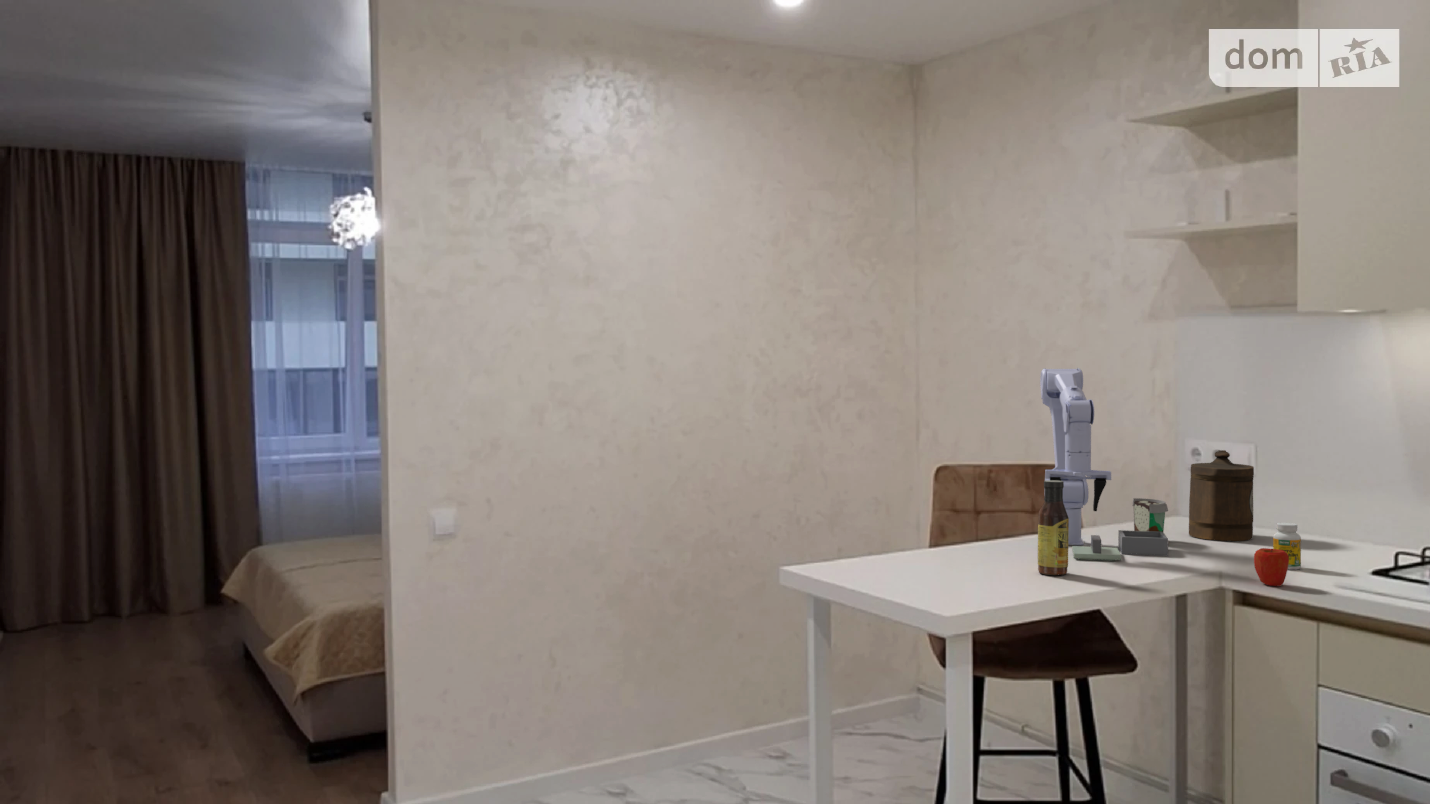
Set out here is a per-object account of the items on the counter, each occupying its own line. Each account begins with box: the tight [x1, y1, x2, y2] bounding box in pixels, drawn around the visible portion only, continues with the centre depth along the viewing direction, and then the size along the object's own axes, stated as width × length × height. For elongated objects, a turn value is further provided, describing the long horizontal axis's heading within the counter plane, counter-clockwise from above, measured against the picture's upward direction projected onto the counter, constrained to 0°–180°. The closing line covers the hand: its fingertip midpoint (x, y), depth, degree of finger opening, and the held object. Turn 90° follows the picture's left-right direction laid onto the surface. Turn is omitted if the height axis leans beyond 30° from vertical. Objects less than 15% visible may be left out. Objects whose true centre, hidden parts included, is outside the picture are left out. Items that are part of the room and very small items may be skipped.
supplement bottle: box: [1272, 522, 1302, 571], centre depth 240 cm, size 5×5×10 cm
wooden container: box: [1188, 449, 1255, 542], centre depth 280 cm, size 15×15×22 cm
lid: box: [1071, 534, 1122, 562], centre depth 255 cm, size 10×10×5 cm
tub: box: [1117, 529, 1169, 557], centre depth 261 cm, size 10×10×4 cm
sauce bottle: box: [1037, 480, 1069, 576], centre depth 236 cm, size 7×6×20 cm
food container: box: [1132, 497, 1169, 533], centre depth 275 cm, size 12×6×10 cm, turn 179°
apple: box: [1253, 547, 1289, 587], centre depth 223 cm, size 6×6×8 cm
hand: (1077, 510), depth 257 cm, fingers open, 7 cm apart
